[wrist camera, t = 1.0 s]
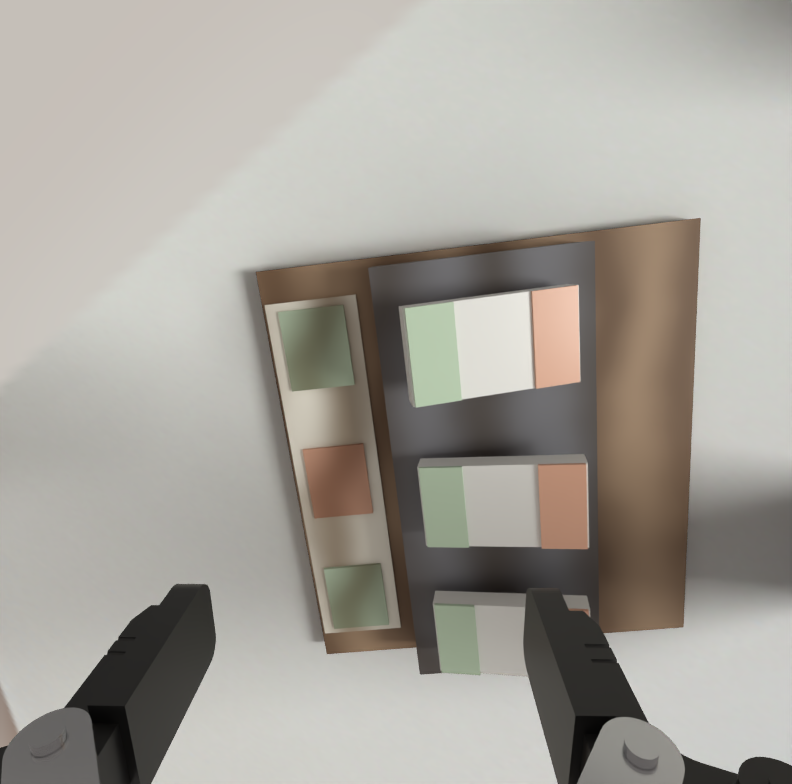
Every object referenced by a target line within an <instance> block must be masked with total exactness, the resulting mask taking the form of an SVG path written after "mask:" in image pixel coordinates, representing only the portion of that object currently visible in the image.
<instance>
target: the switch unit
mask: <svg viewBox="0 0 792 784" xmlns="http://www.w3.org/2000/svg"><path fill="white" fill-rule="evenodd" d="M700 220H701V218H697V219H689V220H680V221H672V222H664V223H656V224H647V225H639V226H631V227H623V228H614V229H606V230H598V231H590V232H582V233H573V234H565V235H557V236H549V237H540V238H532V239H524V240H516V241H507V242H499V243H491V244H483V245H474V246H466V247H458V248H450V249H442V250H433V251H425V252H417V253H409V254H400V255H392V256H384V257H376V258H367V259H359V260H351V261H343V262H334V263H326V264H318V265H310V266H301V267H293V268H285V269H277V270H269V271H260V272H256V275H257V281H258V286H259V291H260V297H261V302H262V308H263V313H264V318H265V324H266V329H267V334H268V340H269V345H270V351H271V356H272V361H273V367H274V372H275V377H276V383H277V388H278V394H279V399H280V404H281V410H282V415H283V420H284V426H285V431H286V437H287V442H288V447H289V453H290V458H291V463H292V469H293V474H294V480H295V485H296V490H297V496H298V501H299V506H300V512H301V517H302V523H303V528H304V533H305V539H306V544H307V549H308V555H309V560H310V566H311V571H312V576H313V582H314V587H315V592H316V598H317V603H318V609H319V614H320V619H321V625H322V630H323V635H324V641H325V646H326V652H327V654H334V653H347V652H360V651H374V650H387V649H400V648H413V647H417V654H418V662H419V670H420V674H434V673H442V671H440V662H439V654H438V645H437V636H436V627H435V619H434V610H433V600H434V595H435V591H462V592H492V593H523V594H526V592H527V589H528V588H558V589H559V590H560V591H561V593H562V595H583V596H587V598H588V603H589V607H590V618H592V619H593V620H594V621H595V622H596V623H597V624H598V625H599V626H600V628H601V630H602V632H603V633H612V632H626V631H639V630H652V629H665V628H679V627H683V624H684V600H685V576H686V553H687V529H688V505H689V481H690V457H691V434H692V410H693V386H694V362H695V339H696V315H697V291H698V267H699V243H700ZM563 284H575V285H579V332H580V382H577V383H570V384H564V385H557V386H551V387H545V388H538V389H536V388H533V389H526V390H520V391H513V392H507V393H501V394H494V395H488V396H481V397H475V398H468V399H462V400H461V401H455V402H449V403H442V404H436V405H429V406H423V407H417V408H416V407H413V406H412V404H411V403H410V401H409V394H408V385H407V376H406V367H405V359H404V350H403V341H402V332H401V324H400V315H399V306H405V305H412V304H420V303H427V302H435V301H442V300H450V299H457V298H465V297H473V296H480V295H488V294H495V293H503V292H510V291H518V290H525V289H533V288H540V287H548V286H555V285H563ZM567 454H584V455H585V457H586V460H587V462H588V506H589V548H588V549H542V547H489V546H469V548H450V547H427V546H426V540H425V531H424V523H423V514H422V505H421V496H420V488H419V479H418V470H417V466H418V464H419V461H420V458H457V457H494V456H530V455H567Z"/></svg>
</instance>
